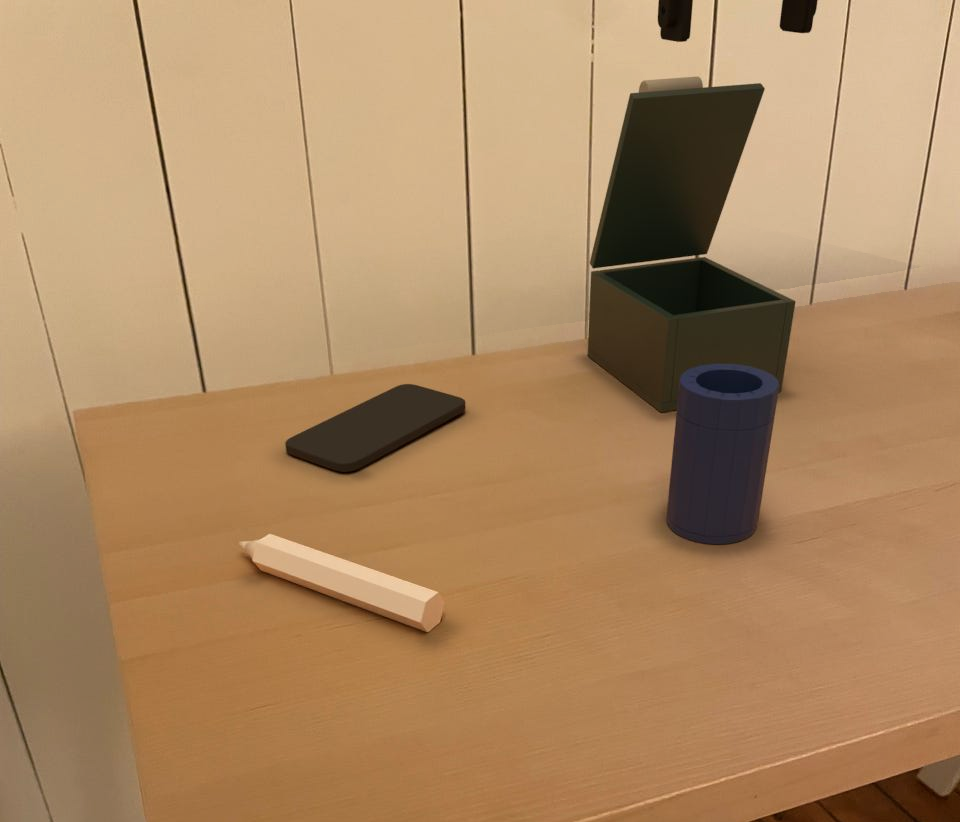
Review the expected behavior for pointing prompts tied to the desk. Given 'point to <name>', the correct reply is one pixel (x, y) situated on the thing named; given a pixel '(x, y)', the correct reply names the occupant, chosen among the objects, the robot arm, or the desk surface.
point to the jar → (720, 452)
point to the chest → (683, 324)
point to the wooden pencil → (347, 581)
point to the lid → (673, 169)
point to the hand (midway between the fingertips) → (735, 35)
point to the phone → (374, 427)
